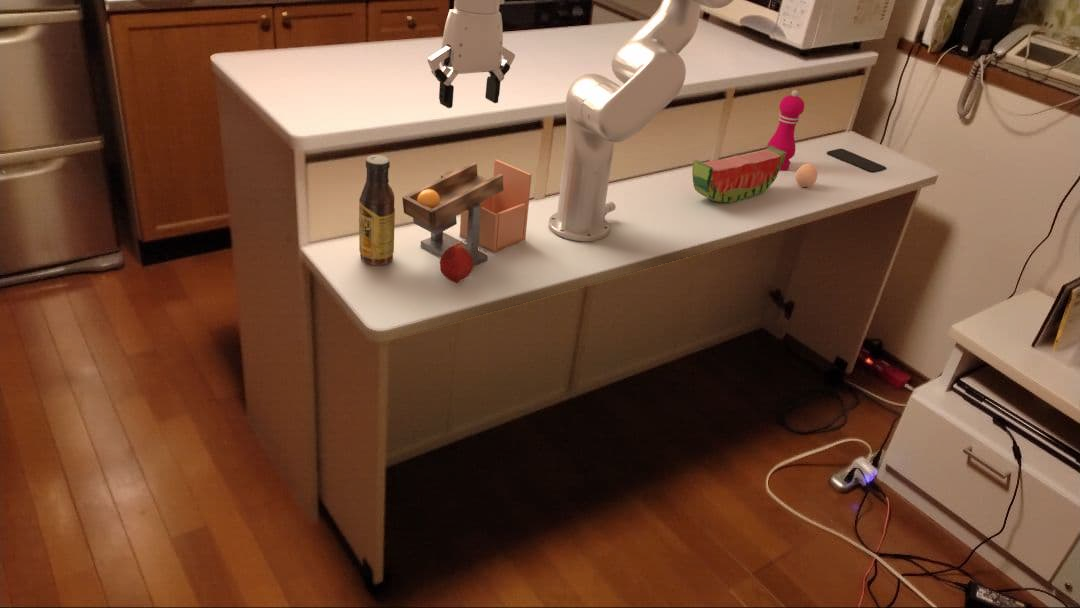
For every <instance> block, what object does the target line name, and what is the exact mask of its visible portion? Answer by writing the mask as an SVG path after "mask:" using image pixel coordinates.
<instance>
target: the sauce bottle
mask: <svg viewBox="0 0 1080 608" xmlns="http://www.w3.org/2000/svg"><path fill="white" fill-rule="evenodd" d="M390 163H391V161H390V159H389V157H387V156H385V155H380V154H373V155H368V157H366V159H365V168H366V179H365V180H366V181H365V183H364V186H363V189H362V192H361V194H360V197H359V199H358V200H359V203H358V204H359V206H358V211H359V213H358V215H359V216H358V223H359V224H358V225H359V227H358V231H359V236H358V238H359V239H358V240H359V243H358V244H359V247H358V248H359V249H358V250H359V253H360V254H359V257H360V260H361V261H362V262H363V263H366V264H367V265H368V266H383V265H386V264H389V263H391V262H392V261H393V257H394V253H395V251H394V250H395V222H396V221H395V218H396V217H395V215H396V209H395V193H394V191H393V188H392V186H390V184H389V183H390V180H389V169H390V166H391V165H390Z"/></svg>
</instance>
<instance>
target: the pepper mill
mask: <svg viewBox="0 0 1080 608" xmlns="http://www.w3.org/2000/svg"><path fill="white" fill-rule="evenodd" d="M799 95H800V91H798V89H794V90H792V91H791V94H790V95H786V96H785V97H783V98H782V99H781V101H780V103H779V106H778V108H779V111H780V113H779V116H778V120H779V122H778V126H777V128H776V131H775V132H774V134H773V135H772V137H771V138H770V139H769V141H768V143H767V145H766V147H767V146H773V147H775V148H777V149H779V150H782V151H784V152H786V155H785V158H784V161H783V164H782V166H781V168H780V170H779V171H787V170H789V168H790V164H791V159H792V158H793V157H794V156H795V154H796V141H795V131H796V130H795V129H796V126H797V124H799V121H800V115H802V113H804V110H805V101H804V100H803V99H802V98H801V97H799Z"/></svg>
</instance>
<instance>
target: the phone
mask: <svg viewBox="0 0 1080 608" xmlns="http://www.w3.org/2000/svg"><path fill="white" fill-rule="evenodd" d="M826 155H827V156H830V157H832V158H835V159H838V160H840V161H841V162H845V163H847V164H849V165H850V166H852V167H853V166H854V167H855V168H859V169H861V170H863V171H865V172H868V173H878V172H881V171H885V170H887V167H886V166H884V165H883V164H881V163H877V162H876V161H873V160H870V159H868V158H866V157H864V156H861V155H859V154H856V153H854V152H851V151H849V150H847V149H844V148H835V149H832V150H828V151H827V152H826Z"/></svg>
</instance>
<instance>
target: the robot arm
mask: <svg viewBox="0 0 1080 608" xmlns="http://www.w3.org/2000/svg"><path fill="white" fill-rule="evenodd" d="M733 1H734V0H661V3H660V5H659V7H658V8H657V10H656V11H655V12H654V14H653V15H652V16H651V17H650V18H649V19H648V20H646V22H645V23H644V24H643V25H642V26H641V27H640V28H639V29H637V30H636V31H635V32H634V33H633V34H632V35H631V36H630V37H629V38H628V39H627V40H626V41H625V42H624V43H622V44H621V45H620V46H619V48H618V49H617V50H616V52H615V53H614V55H613V56H612V60H611V68H612V72H613V75H614V76H615V77H616V78H617V79H618V80H619V81H620V82H622V84H623V85H621V86H620V84H617V83H616V82H614V81H612V80H611V79H609V78H608V77H607V76H603V75H602V74H601V75H600V74H597V73H585V74H583V75H581V76H578V77H577V78H576V79H575V80H574V81H572V83H571V85H570V87H569V88H568V89H567V90H568V91H567V93H566V98H565V119H566V130H565V131H566V133H565V134H566V135H565V144H564V145H565V146H564V154H563V163H562V171H561V179H560V187H559V188H560V189H559V197H558V204H557V206H558V207H557V211H556V212H555V213H554V214H552V215H551V216H550V217H549V219H548V227H549V229H550V230H551V232H552V233H554V234H556V235H557V236H559V237H561V238H563V239H566V240H570V241H577V242H594V241H599V240H601V239H603V238H605V237H606V236H608V234H609V232H610V224H609V223H608V221H607V220H606V216H607V215H608V213H611V212H613V211H615V210H616V203H614V202H613V201H610V202H608V203H606V202H607V196H608V188H609V182H610V176H611V170H612V169H611V167H612V163H613V162H612V161H613V156H614V149H615V148H614V147H615V146H614V145H615V144H614V143H617V144H618V143H623V142H626V141H627V140H630V139H631V138H632V137H634V136H636V135H637V134H638V133H639V132H640V131H641V130H643V129H644V128H645V126H647V125H648V124H649V123H650V122H652V120H653V119H655V118H656V116H657V115H659V113H661V112H662V111H663V110H664V109H665V108H666V107H667V106H668V105H669V104H670V103H671V102H672V101H673V100H674V99H675V98H676V97H677V95H678V94H679V93H680V91H681V90H682V87H683V85H684V83H685V80H686V76H687V75H686V74H687V72H686V71H687V70H686V64H685V62H684V59H683V58H682V57H681V55H680V53H681V52H682V50H683V49H684V48H686V46H688V44H689V43H690V42H691V40H692V39H693V37H694V35H695V34H696V31H697V28H698V24H699V22H700V21H699V20H700V12H701V6H704V7H706V8H709V9H710V8H711V9H721V8H724V7H726V6H728V5H730V4H731V3H732V2H733ZM504 3H505V0H454V1H453V8H452V9H449V10H448V15H447V17H446V20H445V25H444V30H443V37H442V42H441V49H440V50H437V52H435V53H434V54H432V55H431V56H429V57H428V58H427V63H428V65H429V68H430V69H431V74H432V75H433V76H434V77H435V78H436V80H437V82H439V89H438V90H439V92H438V99H439V105H442V106H444V107H445V108H447V109H452V107H453V105H454V104H453V103H454V91H455V90H454V89H455V88H454V85H453V84H452V83H453V82H454V80H455V79H456V77H457V76H458V75H461V74H462V75H464V74H476V73H477V74H478V73H479V74H480V73H488V74H489V75H490V76H487V78H486V84H485V85H486V86H485V97H484V98H485V99H487V100H488V101H490V102H492V103H494V104H498V103H499V97H500V92H501V91H500V90H501V82H502V81H504V79H505V75H506V74H507V73H508V72H509V71H510V69H511V65H512V63H513V62H514V59H515V57H516V54H515V53H513V52H512V51H511V50H509V49H507V48H506V47H504V46H503V39H504V38H503V37H504V35H503V31H504V30H503V19H502V13H501V12H500V5H503V4H504ZM441 66H442V67H443V68H441Z"/></svg>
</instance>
